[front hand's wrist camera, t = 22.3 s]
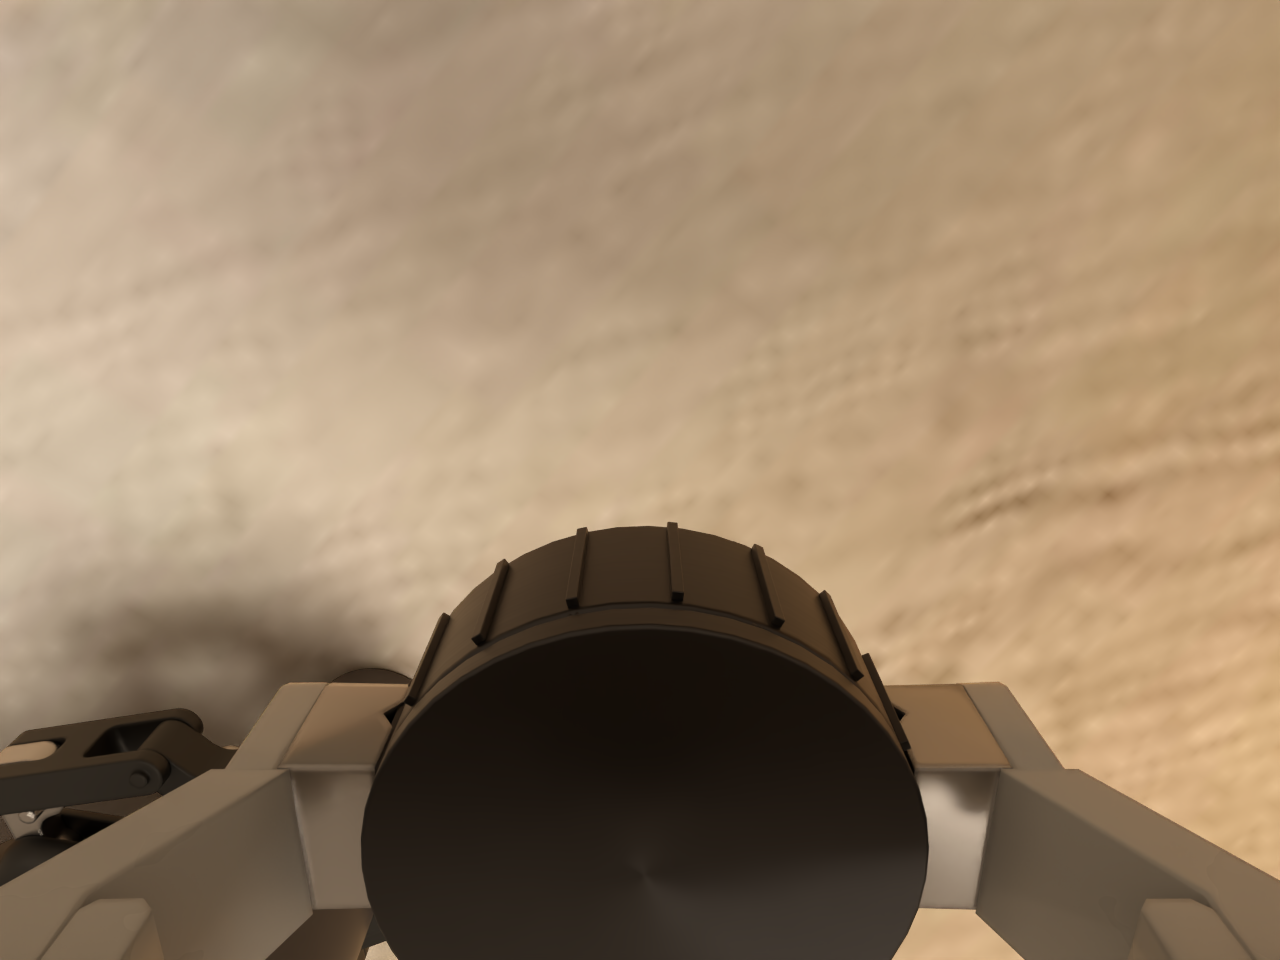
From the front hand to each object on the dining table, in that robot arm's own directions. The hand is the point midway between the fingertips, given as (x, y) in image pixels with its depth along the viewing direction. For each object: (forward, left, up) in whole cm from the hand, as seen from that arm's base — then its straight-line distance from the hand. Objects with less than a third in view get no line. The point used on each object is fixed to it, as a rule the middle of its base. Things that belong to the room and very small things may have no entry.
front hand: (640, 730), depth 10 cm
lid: (0, 0, +2) cm, 2 cm away
